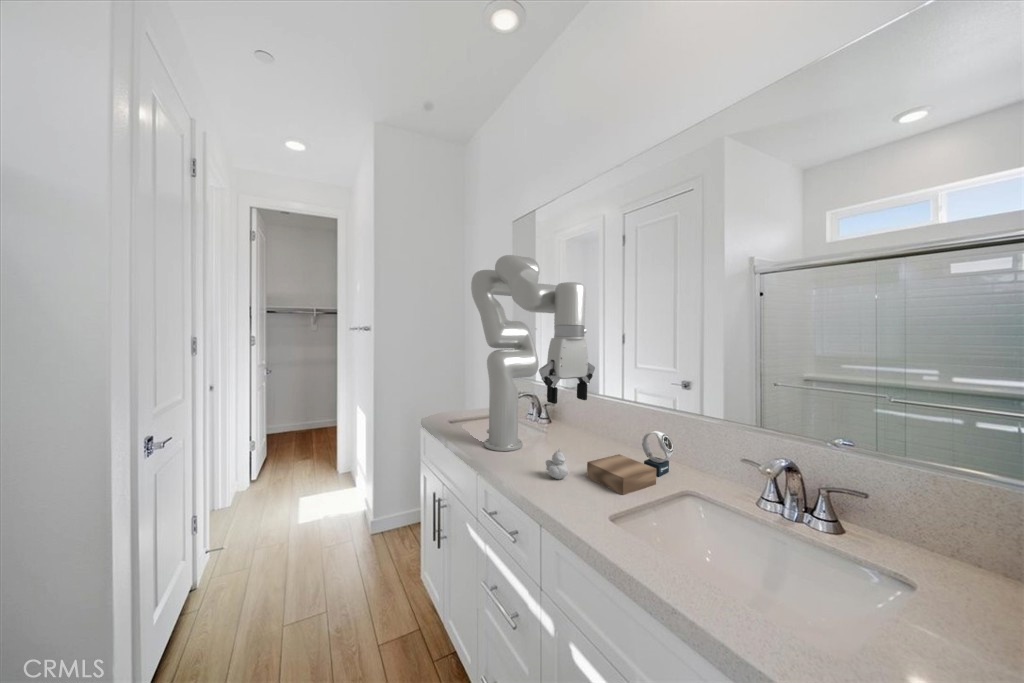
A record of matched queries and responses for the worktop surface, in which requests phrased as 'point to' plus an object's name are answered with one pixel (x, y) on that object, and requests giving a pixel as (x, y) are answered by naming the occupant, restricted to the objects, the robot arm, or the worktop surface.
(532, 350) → the robot arm
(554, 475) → the rubber duck
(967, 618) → the worktop surface
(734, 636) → the worktop surface
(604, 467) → the walnut base
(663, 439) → the watch
